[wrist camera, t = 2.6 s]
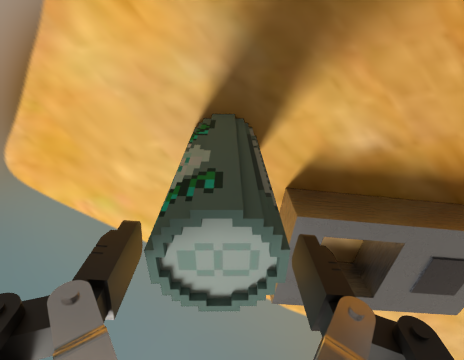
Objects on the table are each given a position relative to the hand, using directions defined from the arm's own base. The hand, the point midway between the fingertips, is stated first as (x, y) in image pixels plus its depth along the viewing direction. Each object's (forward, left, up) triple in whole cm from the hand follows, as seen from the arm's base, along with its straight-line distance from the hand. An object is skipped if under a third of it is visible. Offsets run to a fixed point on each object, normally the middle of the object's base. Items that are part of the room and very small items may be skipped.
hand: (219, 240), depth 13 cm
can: (0, 0, -13) cm, 13 cm away
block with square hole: (+10, +18, -13) cm, 24 cm away
